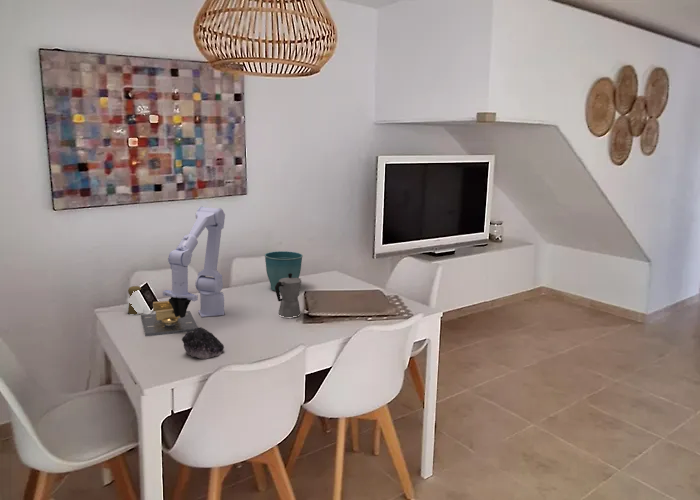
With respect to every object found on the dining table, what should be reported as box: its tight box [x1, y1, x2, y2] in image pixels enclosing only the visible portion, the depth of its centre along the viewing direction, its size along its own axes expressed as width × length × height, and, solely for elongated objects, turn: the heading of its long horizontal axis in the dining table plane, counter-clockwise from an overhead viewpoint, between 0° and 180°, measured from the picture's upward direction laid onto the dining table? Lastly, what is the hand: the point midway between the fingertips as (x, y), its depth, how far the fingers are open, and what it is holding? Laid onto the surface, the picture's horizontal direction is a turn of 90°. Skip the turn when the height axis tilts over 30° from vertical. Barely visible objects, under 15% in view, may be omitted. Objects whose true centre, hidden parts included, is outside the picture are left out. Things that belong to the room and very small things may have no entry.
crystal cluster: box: [181, 326, 225, 359], centre depth 195 cm, size 13×14×10 cm
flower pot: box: [264, 250, 303, 292], centre depth 274 cm, size 18×18×17 cm
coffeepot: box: [274, 273, 302, 317], centre depth 235 cm, size 15×9×18 cm, turn 145°
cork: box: [127, 285, 142, 315], centre depth 232 cm, size 6×6×11 cm
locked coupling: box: [152, 300, 173, 312], centre depth 227 cm, size 6×10×5 cm, turn 114°
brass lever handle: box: [155, 309, 180, 325], centre depth 217 cm, size 6×10×5 cm, turn 120°
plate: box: [140, 310, 199, 337], centre depth 222 cm, size 19×22×2 cm
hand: (180, 316), depth 216 cm, fingers closed
